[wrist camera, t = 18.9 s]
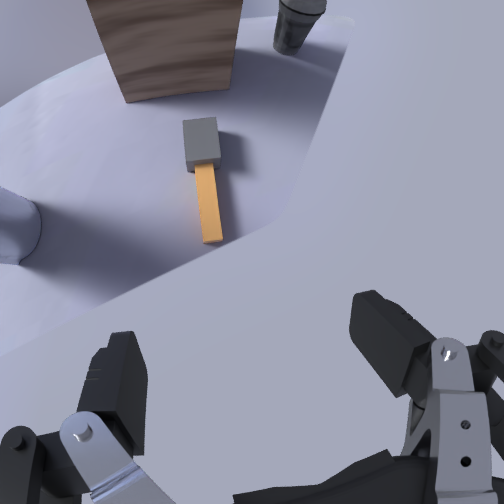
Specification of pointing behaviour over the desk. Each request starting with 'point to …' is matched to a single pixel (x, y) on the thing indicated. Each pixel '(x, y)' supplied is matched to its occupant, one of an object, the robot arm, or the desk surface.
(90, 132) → the desk surface
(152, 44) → the brown wooden tall block
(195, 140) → the mallet
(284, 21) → the beverage cup
